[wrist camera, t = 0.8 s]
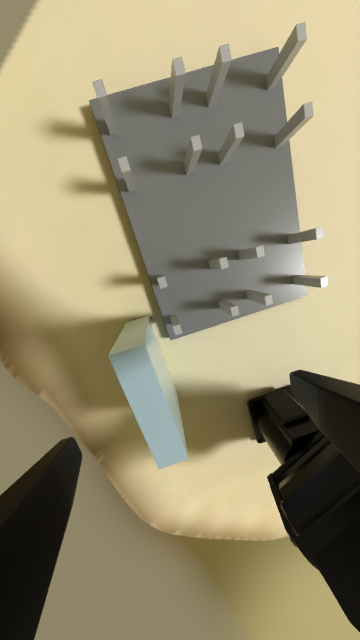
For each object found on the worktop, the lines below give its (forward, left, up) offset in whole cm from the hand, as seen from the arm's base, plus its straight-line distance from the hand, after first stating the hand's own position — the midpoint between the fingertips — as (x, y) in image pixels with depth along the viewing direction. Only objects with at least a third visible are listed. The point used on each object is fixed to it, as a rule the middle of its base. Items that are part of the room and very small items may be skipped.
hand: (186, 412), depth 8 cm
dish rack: (+9, -7, -13) cm, 17 cm away
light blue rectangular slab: (-3, +3, -13) cm, 14 cm away
